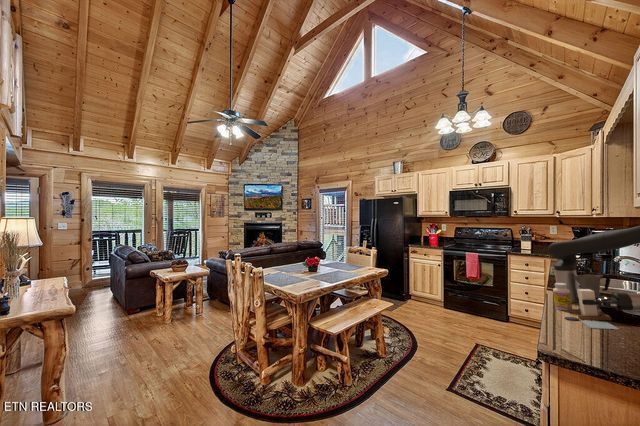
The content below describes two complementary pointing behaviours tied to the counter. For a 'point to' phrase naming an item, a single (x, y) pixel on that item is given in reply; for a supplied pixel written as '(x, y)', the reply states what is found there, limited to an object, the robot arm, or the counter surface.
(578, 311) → the corral
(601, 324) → the tile
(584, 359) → the counter surface
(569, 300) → the supplement bottle
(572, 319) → the hole
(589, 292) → the block
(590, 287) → the coffeepot
